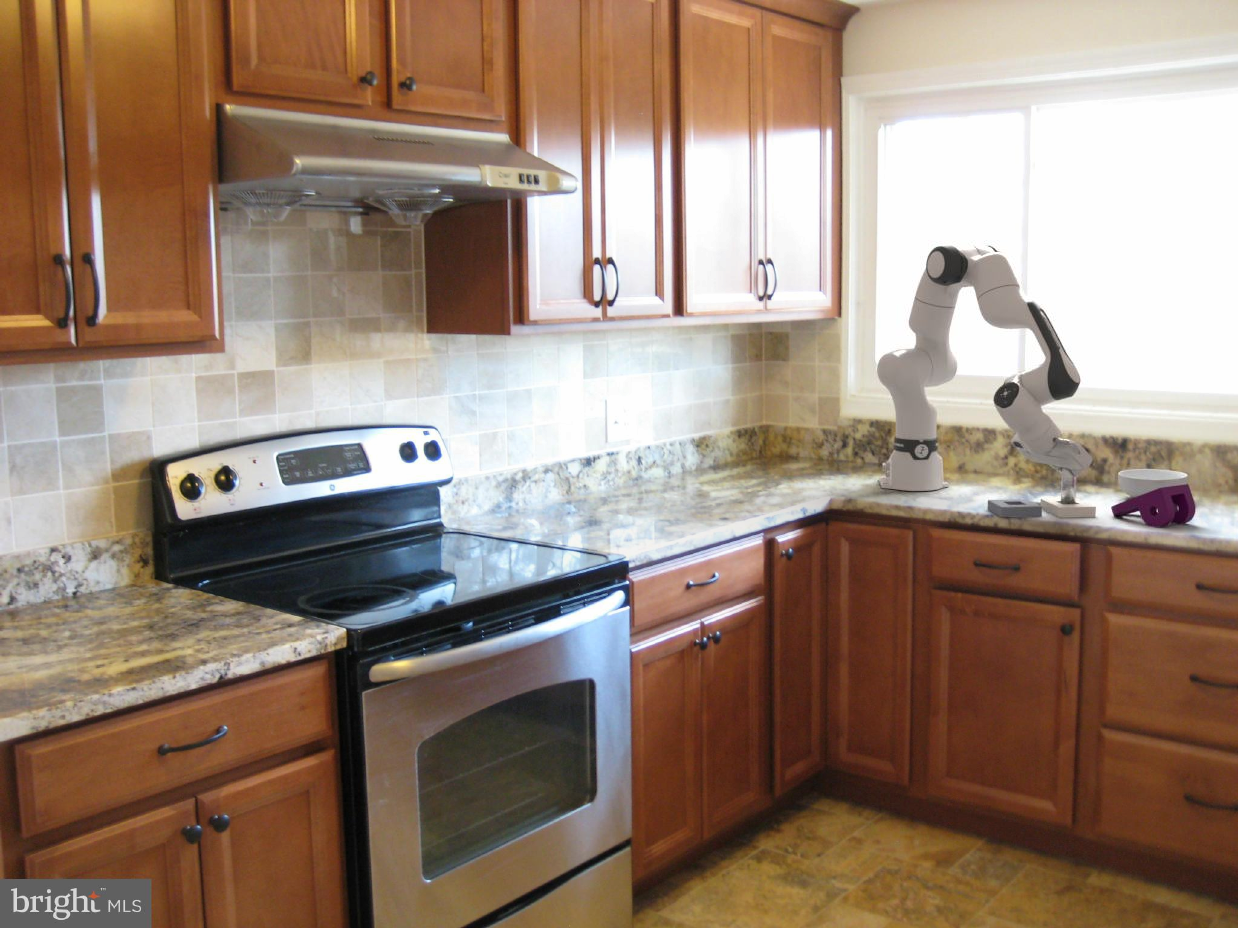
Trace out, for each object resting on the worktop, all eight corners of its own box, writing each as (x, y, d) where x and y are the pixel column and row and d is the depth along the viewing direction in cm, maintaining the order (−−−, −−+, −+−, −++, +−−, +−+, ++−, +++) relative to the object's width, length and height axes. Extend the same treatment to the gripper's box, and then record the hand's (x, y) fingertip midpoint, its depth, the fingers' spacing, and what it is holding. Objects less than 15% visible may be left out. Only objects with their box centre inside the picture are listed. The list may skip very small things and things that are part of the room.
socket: (987, 509, 306) (987, 499, 305) (1026, 508, 306) (1026, 499, 306) (1001, 517, 296) (1001, 507, 296) (1041, 516, 296) (1042, 506, 296)
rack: (1040, 508, 306) (1040, 498, 306) (1075, 507, 307) (1075, 497, 306) (1059, 517, 294) (1059, 507, 294) (1095, 516, 295) (1095, 506, 294)
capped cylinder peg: (1058, 503, 302) (1060, 444, 299) (1071, 503, 302) (1074, 443, 300) (1063, 506, 298) (1066, 446, 296) (1077, 505, 298) (1079, 445, 296)
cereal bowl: (1121, 492, 327) (1122, 466, 326) (1189, 497, 318) (1190, 470, 317) (1112, 503, 312) (1114, 476, 311) (1183, 508, 304) (1185, 480, 303)
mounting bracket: (1113, 542, 293) (1172, 522, 278) (1102, 509, 295) (1160, 487, 280) (1140, 538, 297) (1200, 518, 282) (1130, 505, 299) (1188, 483, 284)
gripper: (1079, 431, 285) (1110, 469, 290) (1020, 422, 304) (1049, 458, 309) (1064, 451, 284) (1094, 489, 289) (1005, 441, 303) (1035, 477, 308)
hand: (1071, 473), depth 299 cm, fingers closed on capped cylinder peg, 3 cm apart
